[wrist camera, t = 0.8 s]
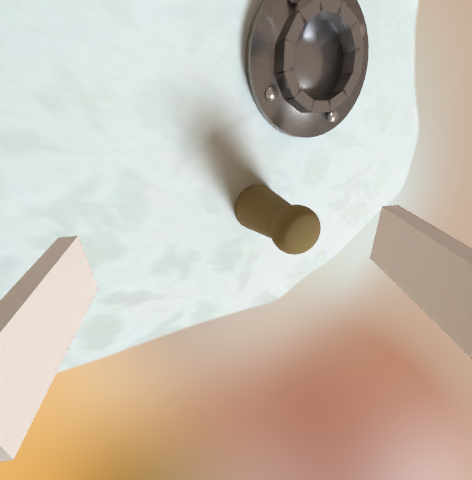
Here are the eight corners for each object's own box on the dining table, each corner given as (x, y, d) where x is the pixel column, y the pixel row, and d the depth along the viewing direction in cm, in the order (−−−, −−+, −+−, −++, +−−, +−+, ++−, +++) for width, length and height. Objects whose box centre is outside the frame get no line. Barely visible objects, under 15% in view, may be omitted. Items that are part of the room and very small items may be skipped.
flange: (219, 24, 27) (231, 13, 24) (339, -56, 29) (363, -74, 26) (281, 161, 35) (295, 165, 33) (372, 94, 37) (393, 91, 34)
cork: (278, 185, 37) (336, 206, 27) (271, 228, 39) (322, 261, 29) (237, 183, 34) (285, 205, 25) (232, 229, 36) (274, 265, 27)
